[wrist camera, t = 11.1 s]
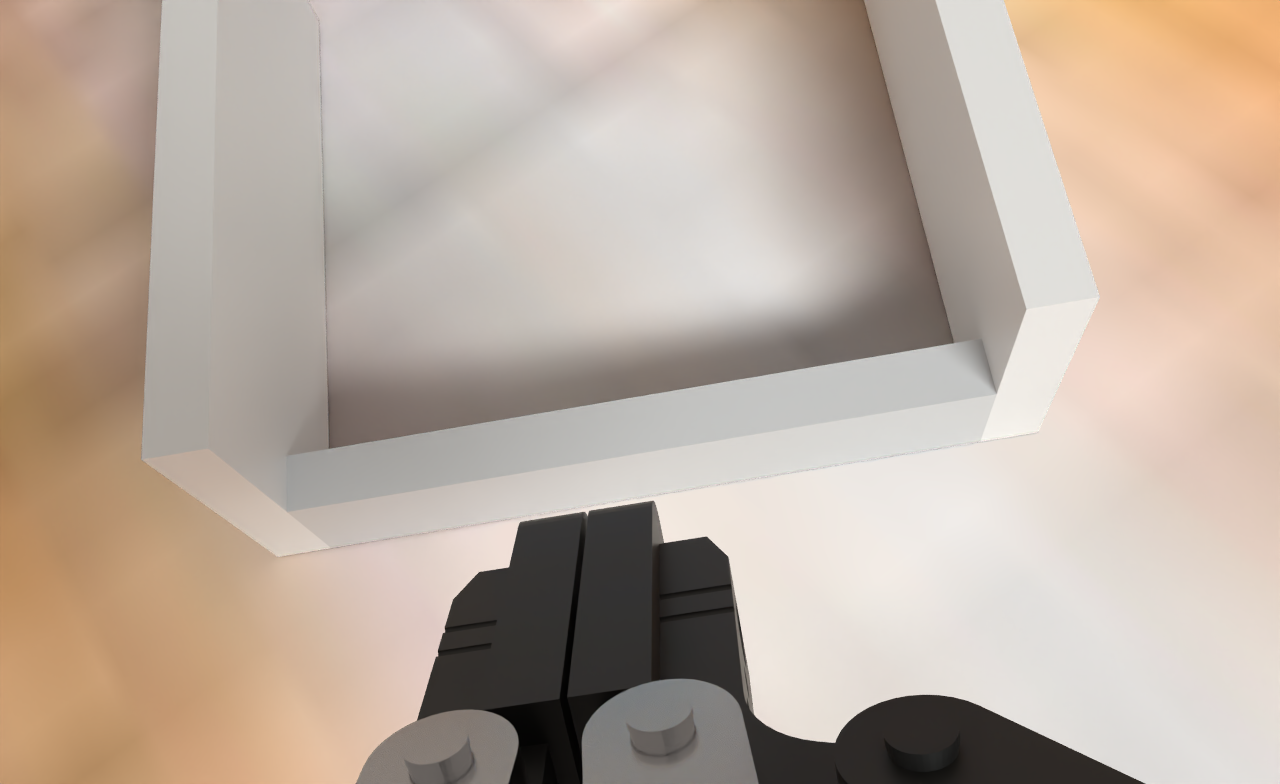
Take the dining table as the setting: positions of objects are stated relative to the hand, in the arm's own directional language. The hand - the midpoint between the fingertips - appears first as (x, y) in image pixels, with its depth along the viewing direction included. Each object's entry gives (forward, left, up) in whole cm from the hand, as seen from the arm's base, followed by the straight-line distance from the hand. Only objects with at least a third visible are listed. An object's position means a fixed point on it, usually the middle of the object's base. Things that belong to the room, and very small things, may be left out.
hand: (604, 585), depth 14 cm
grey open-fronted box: (0, -13, -11) cm, 17 cm away
